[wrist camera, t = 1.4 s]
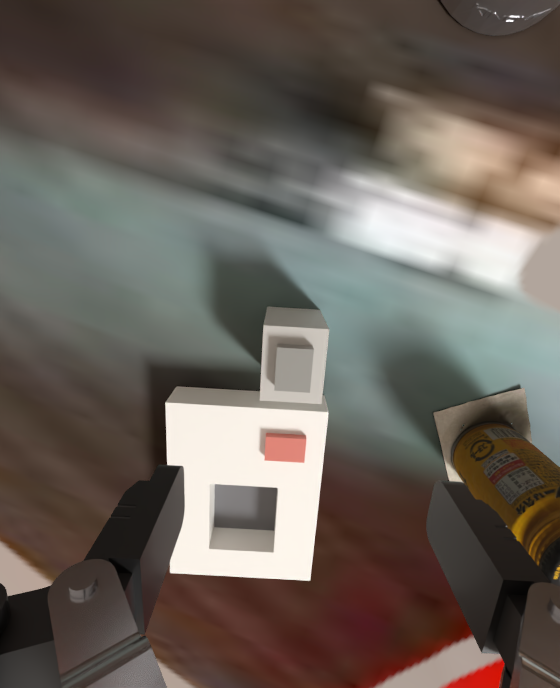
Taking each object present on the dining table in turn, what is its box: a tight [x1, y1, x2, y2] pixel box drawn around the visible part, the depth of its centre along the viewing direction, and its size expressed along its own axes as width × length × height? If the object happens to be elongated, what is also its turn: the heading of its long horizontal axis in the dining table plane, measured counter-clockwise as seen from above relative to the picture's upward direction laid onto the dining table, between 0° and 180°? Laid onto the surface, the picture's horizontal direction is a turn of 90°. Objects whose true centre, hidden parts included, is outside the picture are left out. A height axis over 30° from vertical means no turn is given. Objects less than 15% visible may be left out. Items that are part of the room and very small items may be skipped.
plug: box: [260, 306, 329, 404], centre depth 26 cm, size 5×4×7 cm
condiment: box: [433, 388, 560, 586], centre depth 26 cm, size 7×8×12 cm
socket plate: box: [165, 386, 329, 581], centre depth 31 cm, size 16×12×4 cm
